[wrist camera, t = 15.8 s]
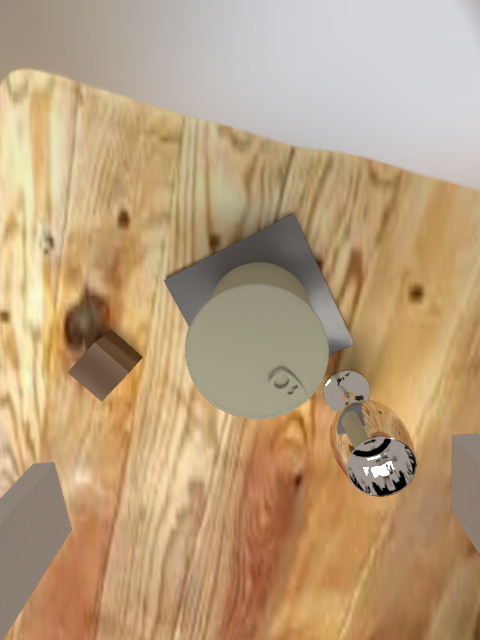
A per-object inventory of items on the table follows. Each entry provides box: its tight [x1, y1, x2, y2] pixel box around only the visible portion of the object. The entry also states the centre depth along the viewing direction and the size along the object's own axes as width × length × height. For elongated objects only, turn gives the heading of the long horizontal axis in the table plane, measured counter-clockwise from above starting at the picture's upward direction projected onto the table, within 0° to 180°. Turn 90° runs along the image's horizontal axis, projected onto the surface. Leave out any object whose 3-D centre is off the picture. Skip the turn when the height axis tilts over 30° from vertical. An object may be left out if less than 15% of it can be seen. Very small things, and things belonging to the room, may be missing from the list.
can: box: [185, 262, 329, 419], centre depth 30 cm, size 9×9×12 cm
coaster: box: [164, 214, 354, 355], centre depth 36 cm, size 13×13×1 cm
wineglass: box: [323, 370, 417, 497], centre depth 32 cm, size 6×6×12 cm
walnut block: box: [68, 330, 143, 401], centre depth 37 cm, size 4×4×4 cm
